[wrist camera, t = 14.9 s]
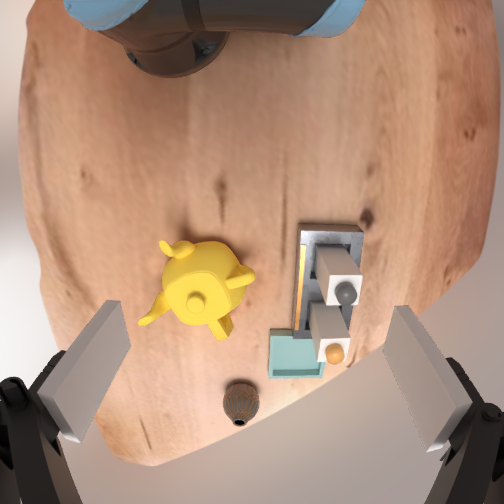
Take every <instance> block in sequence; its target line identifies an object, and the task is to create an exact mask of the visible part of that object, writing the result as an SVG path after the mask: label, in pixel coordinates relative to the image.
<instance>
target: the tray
mask: <svg viewBox="0 0 504 504" xmlns="http://www.w3.org/2000/svg"><path fill="white" fill-rule="evenodd" d="M324 367H325V362H317V359H316V354H315V349H314V345H313V340H312V339H293V336H292V329H270V350H269V370H268V375H269V378H322V377H323V372H324Z"/></svg>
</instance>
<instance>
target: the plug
mask: <svg viewBox="0 0 504 504" xmlns="http://www.w3.org/2000/svg"><path fill="white" fill-rule="evenodd" d="M308 321H309V326H310V331H311V335H312V340H313V345H314V349H315V354H316V359H317V362H328V363H330V364H338V363H340V362H342V361H346V357H347V352H348V348H349V343H350V339H351V337H350V335H349V332H348V329H347V327H346V324H345V322H344V319H343V317H342V314H341V311H340V309H339V306H338V305H326V304H325V301H324V300H310V301H309V311H308Z"/></svg>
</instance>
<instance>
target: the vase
mask: <svg viewBox="0 0 504 504" xmlns="http://www.w3.org/2000/svg"><path fill="white" fill-rule="evenodd" d="M223 408H224V411H225V413H226V415H227V416H228V417H229V418H230V419H231V420H232V422H233V424H234V425H235V426H244V425H246V423H247V422H248V421H249V420H251V419H252V418H253V417H254V416H255V415H256V413H257V411H258V408H259V396H258V394H257V392H256V390H255V389H254V388H253V387H252V386H250V385H248V384H245V383H238V384H235V385H233V386H231V387H230V388H229V389H228V390H227V391H226V393H225V395H224V399H223Z"/></svg>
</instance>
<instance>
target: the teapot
mask: <svg viewBox="0 0 504 504" xmlns="http://www.w3.org/2000/svg"><path fill="white" fill-rule="evenodd" d="M159 246H160V248H161V250H162V251H163V252H164V253H165V254H166V255H167V256H169V257H172V258H171V259H170V260H169V261H168V263H167V264H166V266H165V268H164V271H163V275H162V286H163V290H162V291H161V292H160V293H159V294H158V296H157V297H156V299H155V301H154V304H153V306H152V308H151V310H150V311H149V313H148V314H147V315H145V316H144V317H143V318H141V319H140V320H139V322H138V324H139V325H141V326H143V325H147V324H149V323H151V322H153V321H154V320H155V319H157V318H158V317H159V316H161V315H162V314H163V313H165V312H167V311H168V310H170V309H173V311H174V312H175V314H176V315H177V317H178V318H179V319H180V320H181V321H182V322H183V323H185V324H188V325H201V324H206V323H207V325H208V326H209V328H210V329H211V331H212V333H213V334H214V336H215V337H216V339H217V340H218V341H220V340H223V339H226V338H228V337H229V335H230V333H231V331H232V329H233V327H234V326H233V323H232V320H231V318H230V315H229V312H230V311H232V310H233V309H234V308H235V307H236V306H238V304H239V303H240V302H241V301H242V299H243V297H244V295H245V293H246V288H247V285H248V284H250V283H252V282H253V281H254V280H255V278H256V274H255V272H254V271H253V270H252V269H251V268H250V267H247V266H244V265H240V263H239V261H238V259H237V258H236V256H235V255H234V253H233V252H232V251H231V249H230V248H229V247H228V246H226V245H225V244H223V243H220V242H216V241H207V242H200V243H196V244H192V243H191V242H189V241H179V242H176V243H174V244H173V245H172V246H170V245H169V244H168V243H167V242H165V241H163V240H161V241H160V242H159Z"/></svg>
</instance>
